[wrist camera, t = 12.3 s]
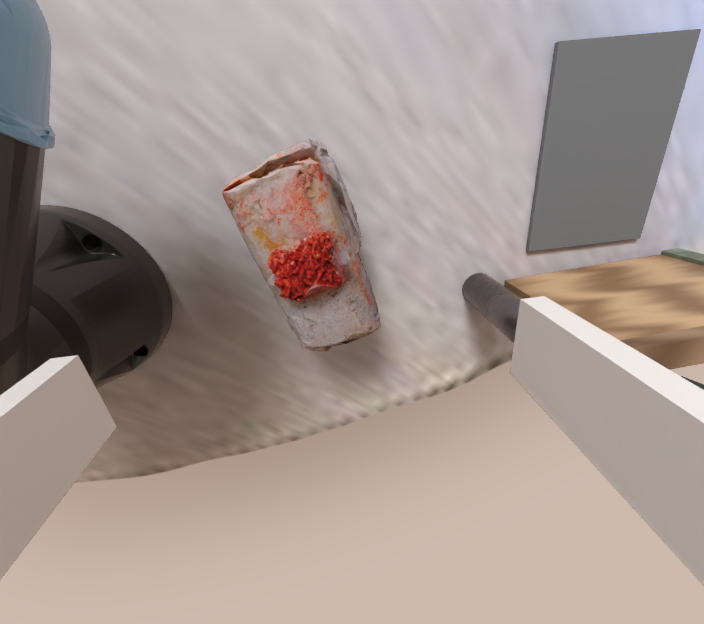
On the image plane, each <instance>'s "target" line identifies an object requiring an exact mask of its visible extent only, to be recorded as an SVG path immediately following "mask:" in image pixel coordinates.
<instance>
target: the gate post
mask: <svg viewBox="0 0 704 624" xmlns="http://www.w3.org/2000/svg"><path fill="white" fill-rule="evenodd" d="M462 292H463V296H464V297H465V298H466V299H467V300H468V301H469V302H470V303H471V304H472V305H473V306H474V307H475V308H476V309H477V310H478V311H480V312H481V313H482V314H483V315H484V316H485V317H486V318H487V319H488V320H489V321H490V322H491V323H493V324H494V325H495V326H496V327H497V328H498V329H499V330H500V331H501V332H502V333H503V334H504V335H506V336H507V337H508V338H509V339H510V340H511V341H512V342H513V343H514V340H515V333H516V326H517V319H518V312H519V305H520V299H522V298H521V297H519V296H518V295H516V294H515V293H513V292H512V291H510V290H509V289H507V288H506V287H504V286H503V285H501V284H500V283H498V282H497V281H495V280H494V279H492V278H491V277H489V276H488V275H486V274H483V273H477V274H474V275H472V276H470V277H469V278H468V279H467V280H466V281H465V283H464V285H463V288H462Z"/></svg>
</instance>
